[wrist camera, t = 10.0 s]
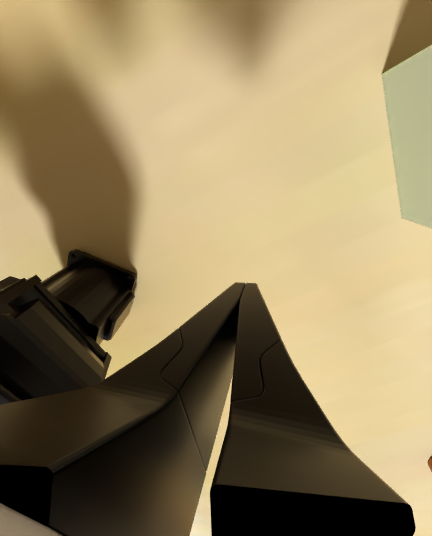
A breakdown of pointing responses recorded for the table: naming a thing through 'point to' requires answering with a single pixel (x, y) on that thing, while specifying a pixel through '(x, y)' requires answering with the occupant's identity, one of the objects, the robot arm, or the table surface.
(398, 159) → the bookend
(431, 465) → the disposable coffee cup
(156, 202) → the table surface
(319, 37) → the table surface
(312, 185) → the table surface
